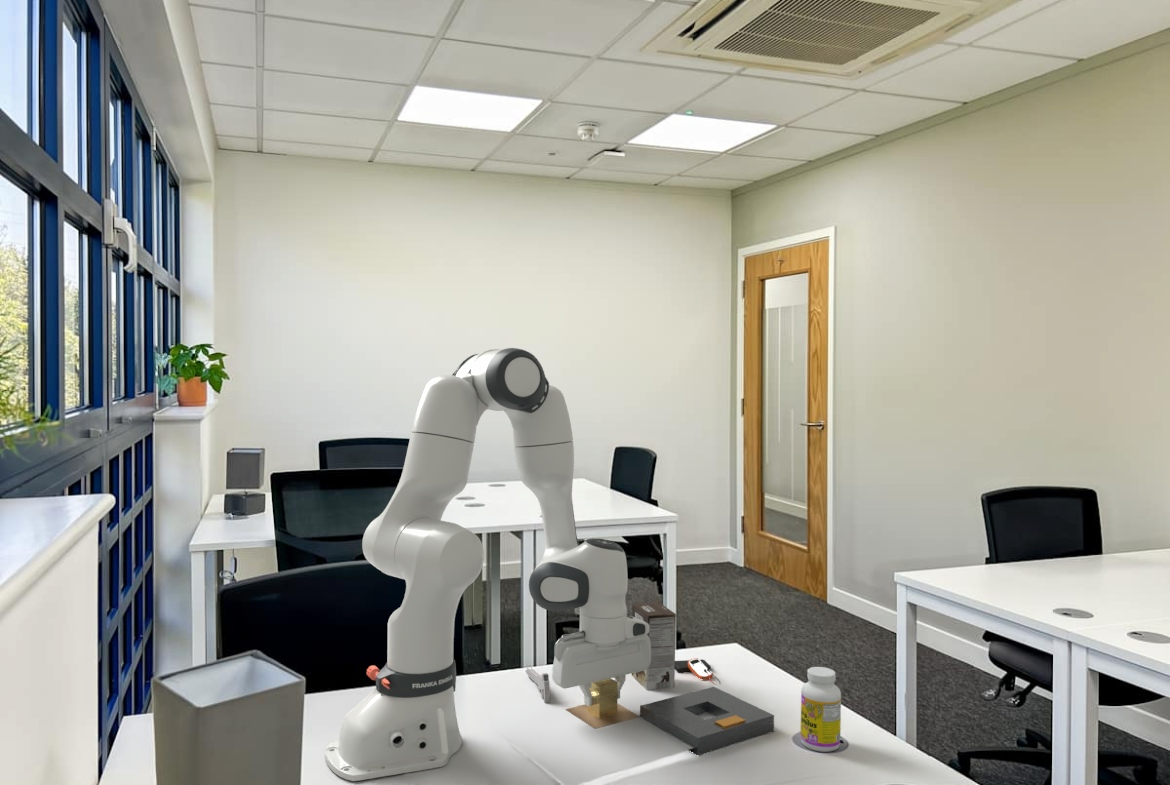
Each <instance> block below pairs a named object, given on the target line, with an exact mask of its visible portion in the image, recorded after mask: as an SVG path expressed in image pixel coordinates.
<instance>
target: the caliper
mask: <svg viewBox="0 0 1170 785" xmlns="http://www.w3.org/2000/svg"><path fill="white" fill-rule="evenodd" d="M529 668H531V669H529ZM525 672H526V675H527V677H529V678H530V679H531V680H532V681H533V682H534V683H535V684H536V685H537V689H538V690H539V691H541V692H540V693H541V694H540V695H541V699H542V700H543V703H544V704H550V700H551V699H550V698H551V691H550V690H551V689H550V680H549V679H550V678H549V673H548V672H545V673H541V674H540V673H538V672H537V671H536V670H535V669H533V667H527V668H526V669H525Z"/></svg>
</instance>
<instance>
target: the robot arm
mask: <svg viewBox="0 0 1170 785" xmlns="http://www.w3.org/2000/svg"><path fill="white" fill-rule="evenodd" d="M487 410H488V411H489V410H490V411H493V412H494V411H495V412H499V411H500V412H501V411H503V412H504V413H505V415H507V417H508V418H509V420H510V424H511V427H512V429H513V430H512V431H513V433H512V434H513V435H512V436H513V448H514V456H515V463H516V467H517V470H518V475H519V478H520V480H521V482H522V483H523V485H524V486H526V487H527V488H528V489H529V490H530V491H531V492H532V493H533V494H534V496H535V497H536V498H537V501H538V503H539V506H540V511H541V512H540V513H541V518H542V526H543V533H544V541H545V543H544V544H545V545H544V546H545V547H544V552H543V555H542V558H541V560H540V562H539V563H538V564H537V565H536V566H535V567H534V569H533V571H532V572H531V574H530V577H529V580H528V590H529V595H530V596H531V599H532V600H533V602H535V603H536V605H537V606H539V607H540V608H542V609H544V610H546V611H551V612H556V611H558V612H559V611H565V610H574V609H579V631H577V632H573V633H569V634H568V633H565V634H562V635H561V636H560V638H558V640H557V641H555V643H554V657H553V658H554V659H553V664H552V676H551V677H552V678H551V679H552V680H553V682H554V684H556V685H557V686H559V687H560V688H562V689H570V688H574V687H578V686H579V689H580V690H581V692H582V693H583V695H584V696H583V699H584V700H583V701H584V702H583V703H584V705H585V704H586V705H587V706H592V705H595V704H596V701H595V700H596V695H593V694H592V693H591V692H590V690H589V688H591V687H592V682H596V681H601V680H605V679H609V678H611V679H614V680H615V681H617V682H618V693H617V700H619V699H621V690H622V688H623V686H624V685H625V682H626V681H627V680H626V679H627V678H626V677H627V676H626V675H632V673H635V672H640V671H644V670H647V669H648V668H649V666H650V664H651V642H650V638H649V636H648V635H646V634H648V633H649V624H648V623H646V622H644V621H642V620H640V619H638V618H635V617H632V615H628V607H627V605H626V596H627V592H628V585H629V584H628V581H629V580H628V564H627V562H628V560H627V556H626V552H625V551H624V549H623V547H622V546H621V545H620V544H618V543H616V542H614V541H612V540H609V539H604V538H593V537H592V538H588V539H586V540H584V542H582V543H581V544H580V543H579V540H578V538H577V537H578V535H577V529H576V521H575V512H574V511H575V510H574V505H573V483H574V482H573V481H574V479H573V478H574V470H575V469H574V467H575V465H574V464H575V453H574V452H575V448H574V441H573V440H574V439H573V430H572V429H573V428H572V423H571V419H570V415H569V411H568V406H567V403H566V399H565V396H564V393H563V392H562V391H561V390H560V389H559V388H557V387H555V386H553V385H551V384H550V382H549V380H548V379H547V377H546V374H545V371H544V369H543V366H542V365H541V363H540V361H539V359H537V358H536V356H535V355H534V354H533V353H531V352H529V351H527V350H525V349H521V348H518V347H517V348H515V347H510V348H509V347H508V348H504V349H503V348H502V349H499V348H497V349H496V348H495V349H489V350H485V351H482V352H479V353H474V354H472V355H470V356H469V357H466V359H464V360H463V361H462V362H461V363H460V364H459V366H458V367H456V369H455V371H454V372H453V373H452V374H446V375H445V374H442V375H439V376H435V377H433V378H432V379H430V380H429V381H428V382H427V383H426V385H425V387H424V389H423V392H422V394H421V397H420V399H419V402H418V404H417V408H416V412H415V414H414V418H413V422H412V426H411V430H410V436H409V442H408V446H407V449H406V450H407V451H406V456H405V460H404V463H403V464H404V465H403V468H402V472H401V476H400V478H399V482H398V483H397V486H396V488H395V491H394V493H393V495H392V496H391V498H390V500H389V502H388V504H387V505H386V507H385V508H384V509H383V511H382V513H380V514H379V515H378V516H377V517H376V518H374V519H373V520H372V521H371V522H370V523H369V524H368V526H367V527H366V529H365V531H364V533H363V537H362V540H361V541H362V543H361V546H362V548H361V549H362V552H363V556H364V558H365V559H366V561H367V562H368V563H369V564H371V565H372V566H373V567H374V568H376V569H377V570H379V571H381V573H383V574H385V575H387V576H390V577H394V578H397V579H401V580H405V586H406V587H405V593H404V595H403V597H404V598H403V600H402V603H401V604H400V607H398V608H397V609H395V610H394V611H393V612H392V614H391V615H390V616H389V618H388V622H387V650H386V651H387V652H386V653H387V654H386V655H387V657H386V658H387V662H386V663H385V665H384V666H383V667H382V668H381V669H379V668H378V667H377V666H376V665H370V666H368V668H367V669H366V676H368V678H370V680H372V681H375V688H374V689H373V690H372V691H371V692H370V693H369V694H367V695H366V697H364V698H363V699H362V700H360V702H359V703H358V704H356V705H355V706H354V707H353V708H352V709H351V710H349V711H348V712H347V713H346V714H345V716H344V717H343V720H342V722H341V726H340V732H339V738H338V739H337V740H334V741H331V742H330V743H329V742H328V745H327V746H326V748H325V750H324V751H325V753H324V759H325V762H326V764H327V766H328V768H329V769H331V771H332V772H333V773H334V774H335V775H336V776H338V777H340V778H342V779H345V780H347V781H352V782H358V781H364V780H371V779H376V778H382V777H388V776H395V775H401V774H406V773H411V772H418V771H423V770H424V771H425V770H431V769H437V768H441V767H442V768H443V767H444V766H446V765H447V764H448V762H449V760H450V758H451V756H452V755H454V754H455V753H456V752H458V750H459V749H461V747H462V744H463V738H462V735H461V732H460V728H459V724H458V723H459V722H458V719H457V712H456V710H457V709H456V704H455V703H456V702H455V692H456V687H457V685H456V683H457V668H456V667H457V666H456V665H457V664H456V660H455V659H454V641H455V640H454V638H455V620H456V619H455V618H456V614H457V610H458V606H459V604H460V600H461V597H462V596H463V593H464V592H465V590H466V589H467V588H468V587H469V586H470V585H472V583H474V582H475V581H476V579H477V578H478V577H479V575H480V574H481V572H482V568H483V566H484V560H485V549H484V545H483V543H482V541H481V539H480V538H479V536H478V535H477V534H475V533H474V532H473V531H470V530H469V529H467V528H465V527H463V526H461V525H459V524H457V523H454V522H450V521H445V520H442V518H443V516H444V512H445V510H446V509H447V506H448V505H449V504H450V502H451V501H452V500H453V499H454V497H456V496H457V495H459V494H461V493H462V492H463V491H464V490H465V487H466V486H467V484H468V480H469V479H468V478H469V475H470V474H469V473H470V467H471V462H472V457H473V451H474V447H475V442H476V441H475V439H476V434H477V426H478V425H479V422H480V419H481V417H482V415H483V414H484V412H486V411H487Z"/></svg>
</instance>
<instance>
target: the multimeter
mask: <svg viewBox="0 0 1170 785" xmlns="http://www.w3.org/2000/svg"><path fill="white" fill-rule="evenodd" d="M711 669H712V668H711V665H710V664H709V663H708V662H707V661H706V659H699V658H698V657H695V658H691V659H688V660H675V671H676V672H677V673H678V674H683V673H684V672H690V673H692V674H693V675H694V676H695V677H696V676H697V677H698V679H699V678H700V679H708V680H709V681H710V682H711V683H712V684H714V682H713V681H712V679H713V677H715V678H716V676H715V675H714V672H713V671H710V670H711ZM684 674H685V673H684ZM697 677H696V678H697ZM709 678H711V679H709ZM700 679H699V680H700ZM716 680H717V681H718V682H719V683H721V681H720V679H719V678H716Z"/></svg>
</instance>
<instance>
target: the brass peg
mask: <svg viewBox="0 0 1170 785" xmlns="http://www.w3.org/2000/svg"><path fill="white" fill-rule="evenodd" d="M589 690H590V692H591V693H592V694H593V695H596V700H595V701H596V704H595V705H592V706H587V712H589V713H591V714H592V715H594V716H595V717H597V718H599V719H601V718H605V717H609V716H613V715H617V703H618V699H617V693H618V682H617V681H615V679H614V678H609V679H605V680H601V681H596V682H592V687H591V688H589Z"/></svg>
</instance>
